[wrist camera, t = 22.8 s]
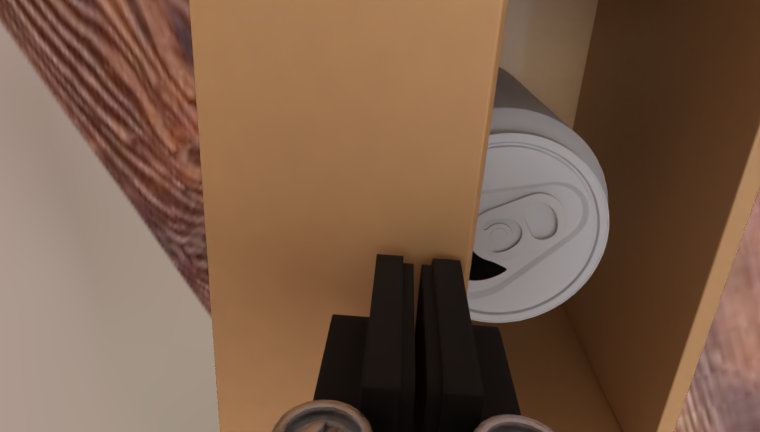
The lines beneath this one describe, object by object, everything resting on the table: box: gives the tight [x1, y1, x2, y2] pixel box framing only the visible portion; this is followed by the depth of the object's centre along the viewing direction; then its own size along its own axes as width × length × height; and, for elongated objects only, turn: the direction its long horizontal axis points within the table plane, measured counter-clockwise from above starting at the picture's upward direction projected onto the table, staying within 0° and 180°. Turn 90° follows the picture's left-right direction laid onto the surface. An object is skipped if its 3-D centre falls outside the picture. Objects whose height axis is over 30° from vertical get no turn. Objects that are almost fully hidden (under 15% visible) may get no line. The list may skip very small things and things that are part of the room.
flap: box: [189, 0, 508, 432], centre depth 13 cm, size 6×15×1 cm, turn 176°
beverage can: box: [467, 67, 609, 323], centre depth 21 cm, size 6×6×12 cm
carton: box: [471, 0, 760, 432], centre depth 20 cm, size 13×15×14 cm
